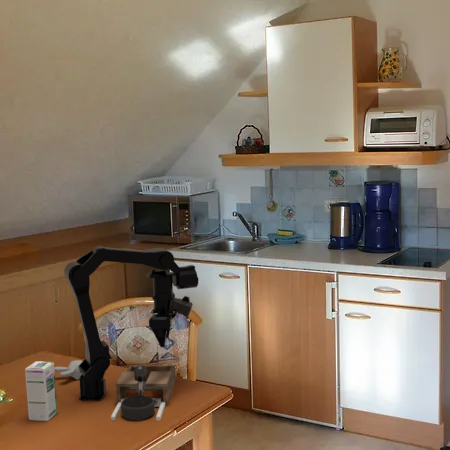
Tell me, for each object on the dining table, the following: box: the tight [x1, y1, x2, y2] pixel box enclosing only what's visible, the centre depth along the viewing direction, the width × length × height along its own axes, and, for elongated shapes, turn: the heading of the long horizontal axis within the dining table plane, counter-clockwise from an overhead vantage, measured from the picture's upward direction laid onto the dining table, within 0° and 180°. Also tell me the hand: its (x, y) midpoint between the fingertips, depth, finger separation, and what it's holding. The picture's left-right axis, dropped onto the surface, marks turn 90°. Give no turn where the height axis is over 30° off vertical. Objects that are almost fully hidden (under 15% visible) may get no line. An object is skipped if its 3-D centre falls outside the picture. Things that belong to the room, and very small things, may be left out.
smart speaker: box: [120, 395, 155, 421], centre depth 184 cm, size 9×9×4 cm
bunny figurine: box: [54, 359, 83, 381], centre depth 214 cm, size 10×5×15 cm
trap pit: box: [128, 381, 163, 391], centre depth 205 cm, size 12×6×1 cm, turn 87°
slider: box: [121, 364, 162, 408], centre depth 189 cm, size 11×3×11 cm, turn 87°
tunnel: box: [115, 364, 176, 407], centre depth 199 cm, size 14×19×6 cm
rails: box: [110, 401, 166, 422], centre depth 185 cm, size 13×10×1 cm
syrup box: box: [24, 360, 59, 422], centre depth 183 cm, size 6×6×14 cm
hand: (164, 342), depth 205 cm, fingers open, 9 cm apart
